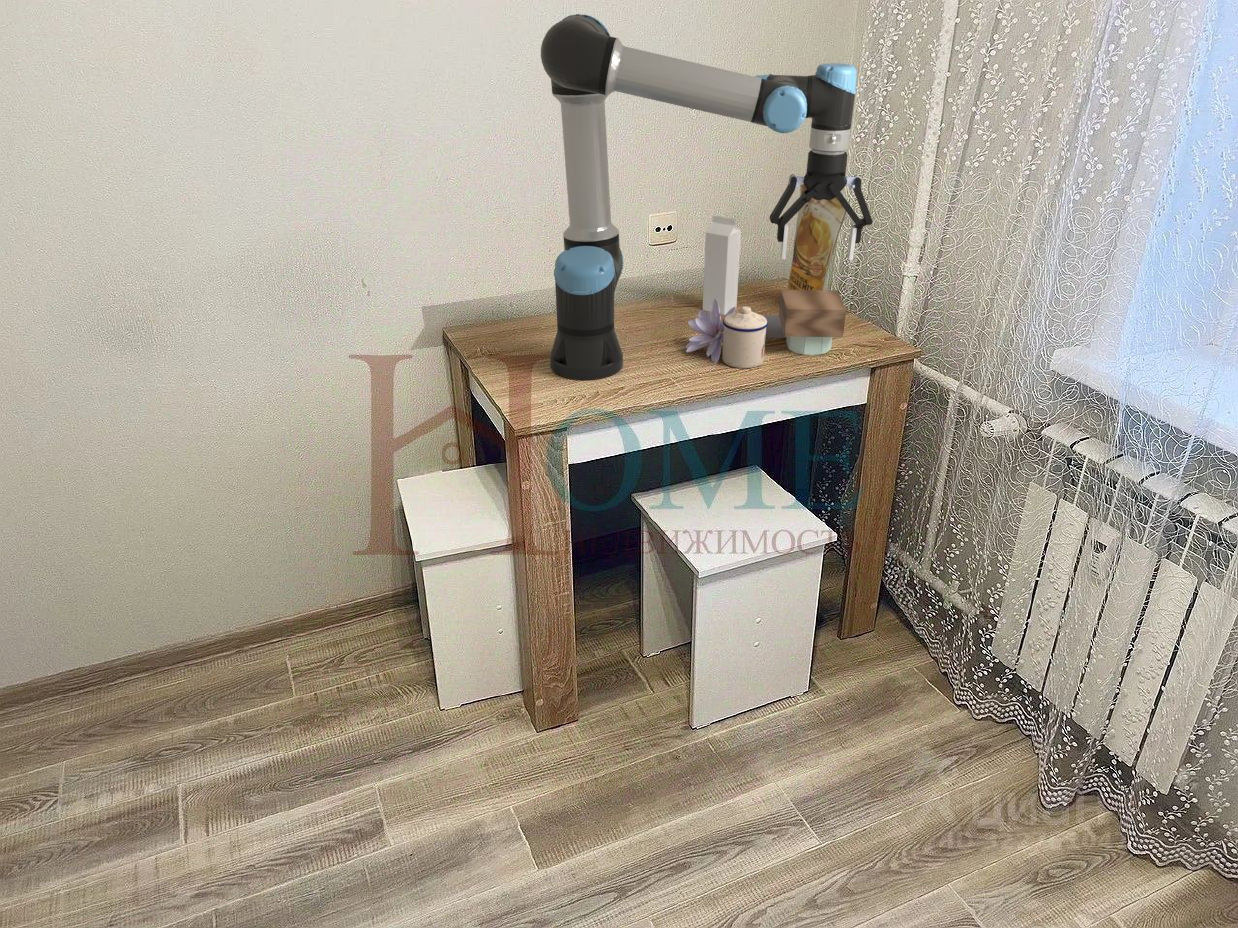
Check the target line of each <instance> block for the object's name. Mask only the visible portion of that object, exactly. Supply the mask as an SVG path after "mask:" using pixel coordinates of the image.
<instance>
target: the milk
mask: <svg viewBox="0 0 1238 928" xmlns="http://www.w3.org/2000/svg"><path fill="white" fill-rule="evenodd" d="M711 221H712V222H711V224H710V225H709V226H708V228H707V230H706V232H705V242H704V245H705V246H704V263H703V264H704V268H703V293H702V295H703V296H702V310H703V311H705V312H710V313H711V304H712V301H713V300H714V298H715V299H716V300H717V303H718V305H719V310H720V315H723V316H725V315H726V314H727V312H728V311H729V310H730V309H731V308H733V307H736V308H737V305H738V290H739V289H738V287H739V285H738V284H739V271H740V256H741V255H740V254H741V253H740V252H741V239H742V237H741V236H742V230H741V229H740V228H739V227H737V225H736V219H735V218H731V217H723V216H718V215H713V216H712V220H711Z"/></svg>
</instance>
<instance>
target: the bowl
mask: <svg viewBox="0 0 1238 928" xmlns="http://www.w3.org/2000/svg"><path fill="white" fill-rule="evenodd" d="M785 343H786V346H787V349H788V350H789V351H791V352H793V353H795V354H800V355H804V356H805V355H806V356H820V355H823V354H826V353H829V351H831V349H832V344H833V337H787V338H786V342H785Z"/></svg>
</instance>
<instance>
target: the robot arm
mask: <svg viewBox="0 0 1238 928" xmlns="http://www.w3.org/2000/svg"><path fill="white" fill-rule="evenodd" d="M541 42H542V43H541V46H540V59H541V63H542V66H543V69H544V71H545V73H546V75H547V76H548V78H550V85H551V94H552V96H553V97H554V98H555V99H556V100H557V101H558V102H559V103H560V113H561V123H562V126H561V127H562V139H563V153H564V165H565V166H564V167H565V177H566V178H565V180H566V191H567V204H568V216H569V219H568V221H569V225H568V227H567V228H566V229H565V230H564V231H563V249H564V250H563V251H562V252H560V254H558V255H557V257H556V260H555V262H554V268H553V269H554V270H553V276H554V280H555V281H554V282H555V283H554V284H555V301H556V302H555V309H556V326H557V327H556V334H555V338H554V340H553V344H552V347H551V351H550V355H549V366H550V369H551V370H552V372H553V373H554V374H557V375H558V376H561V377H563V378H567V379H572V380H580V381H583V380H586V381H589V380H598V379H603V378H608V377H610V376H613V375H616V374H617V373H618V372H620V371H621V370H622V368H623V367H624V353H623V350H622V348H621V345H620V342H619V339H618V337H617V336H618V335H617V333H616V330H615V292H616V288H617V285H618V282H619V279H620V278H621V275H622V272H623V269H624V258H623V257H624V256H623V251H622V250H621V247H620V245H621V244H620V230H619V229H618V227H617V226H615V225H614V224H613V223H612V215H611V214H612V213H611V212H612V211H611V195H610V194H611V192H610V177H609V158H608V157H609V156H608V155H609V154H608V141H607V140H608V139H607V121H606V119H607V118H606V117H607V116H606V104H605V103H606V102H605V101H606V99H607V98H608V97H609V96H610V95H611V94H612V93H614V92H617V93H622V94H626V95H631V96H635V97H639V98H644V99H647V100H648V99H649V100H652V101H656V102H660V103H661V102H662V103H666V104H669V105H674V106H679V107H682V108H687V109H688V108H689V109H691V110H696V111H699V112H700V111H701V112H703V113H704V112H705V113H709V114H714V115H719V116H723V117H727V118H731V119H736V120H741V121H745V122H749V123H751V124H756V125H759V126H764V127H768V128H769V129H770V130H772V131H774V132H776V133H779V134H789V133H792V132H794V131H796V130H797V129H798V128H800V126H802V124H803V123H804V122H805V121H804V120H805V119H811V123H810V124H811V125H810V135H809V143H808V147H809V149H810V150H809V151H808V153H807V162H806V164H807V165H806V173H805V175H804V176H797V175H795V174H793V173H792V174H790V176H789V178H788V184H787V186H786V188H785V190H784V191H783V193H782V195H781V196H780V198H779V200H778V202H777V203H776V204H775V206H774V208H773V210H772V212H771V213H770V215H769V216H768V217H769V221H770V223H771V224H775V225H777V232H776V239H777V242H778V243H781V246H780V258H781V260H786V259H787V246H788V240H789V239H788V238H789V225H788V223H789V222H790V220H792V219H793V218H794V217H795V216H796V214H798V211H799V210H800V209H801V208H802V207H803V206H804V205H805V204H806V203H807V202H809V201H810V200H811V199H812V198H813V199H815V200H822V199H825V200H832V199H834V198H835V197H836V198H837V199H838V201H839V202H840V203H841V205H842V206H843V208H844V209H845V210H846V214H848V215H849V216H848V217H850V220H851V221H852V222H853V223H854V224H850V230H849V236H848V246H847V253H846V258H847V260H848V261H854V254H855V245H856V244H860V243H861V240H862V238H861V237H862V232H863V229H864V227H865V226H871V225H873V218H872V215H871V213H870V210H869V208H868V204H867V202H866V198H865V196H864V193H863V191H862V179H861V177H860V176H859V175H858V174H855V175H853V176H851V177H847V175H846V173H847V172H846V171H847V165H848V164H847V163H848V162H847V161H848V153H847V150H848V149H849V147H850V137H851V128H852V120H853V116H854V115H853V113H854V107H855V100H856V99H855V97H856V94H857V91H856V88H857V87H856V86H857V73H858V72H857V69H856V67H855V66H854V65H852V64H847V63H836V62H835V63H831V62H830V63H821V64H819V65H817V67H816V72H815V73H814V74H811V75H792V74H791V75H790V74H789V75H787V74H785V75H784V74H772V73H769V74H760V75H759V74H758V75H755V76H753V75H750V74H749V75H748V74H744V73H740V72H736V71H732V70H727V69H724V68H720V67H719V68H718V67H714V66H710V65H706V64H702V63H698V62H693V61H689V60H685V59H681V58H677V57H672V56H669V55H663V54H659V53H655V52H650V51H646V50H642V49H638V48H634V47H631V46H630V47H629V46H626V45H623V42H622V41H621V40H620V38H618V37H615V36H611V34H610V32H609V31H608V28H606V26H605V25H604V24H603V23H602V22H601V21H600V20H599V19H597V18H596V17H594V16H592V15H588V14H580V13H577V14H570V15H568V16H565V17H564V18H563V19H562V20H560V21H558V22H556V23H555V24H553V25H552V26H551V27H550V28H549V29H548V30H547V32H546V33H545V35H544V37H543V39H542V41H541ZM801 184H804V185H805V187H806V190H805V191H804V192H803V193H802V195H801V196H800V195H799V197H798V198H797V199H795V201H794V202H793V203H792V204H791V206H789V207H788V208H787V210H786V211H784V209H785V208H786V207H787V205H788V203H789V201H790V199H791V198H792V196H793V194H794V192H795V190H796V188H797V189H798V188H800V185H801ZM847 185H848V186H849V187H850V189H851V190H853V193H854V196H855V198H856V201H857V203H858V206H859V209H860V212H861V214H862V218H860V217H859V216H858V214H857V213H856V212H855V210H854V209H853V208H852V206H851V205H850V204H849V202H848V200H847V199H846V198H845V196H844V195H843V194H842V191H843V189H844V188H845V187H846V186H847ZM783 211H784V213H783Z"/></svg>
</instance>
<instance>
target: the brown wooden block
mask: <svg viewBox="0 0 1238 928" xmlns="http://www.w3.org/2000/svg"><path fill="white" fill-rule="evenodd" d="M778 315H779V319H780V322H781V326H782V329H783V332H784V336H785V337H832V338H844V332H845V324H846V323H845V322H846V315H847V308H846V306H845V304H844V302H843V300H842V298H841V296H840V294H839V291H838V289H837V290H836V289H834V290H833V289H830V290H829V289H823V290H788V289H781V290H780V298H779V310H778Z"/></svg>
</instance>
